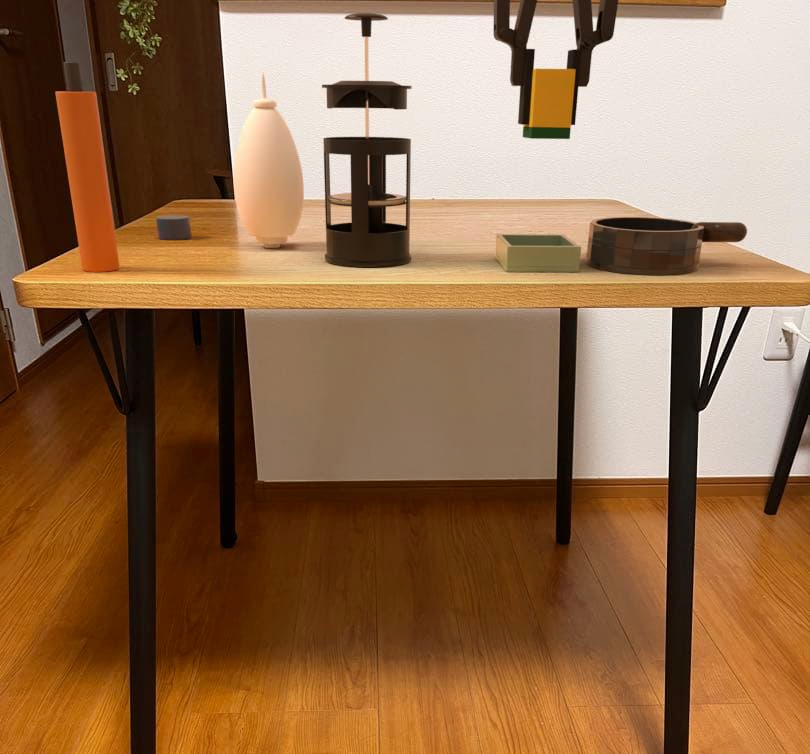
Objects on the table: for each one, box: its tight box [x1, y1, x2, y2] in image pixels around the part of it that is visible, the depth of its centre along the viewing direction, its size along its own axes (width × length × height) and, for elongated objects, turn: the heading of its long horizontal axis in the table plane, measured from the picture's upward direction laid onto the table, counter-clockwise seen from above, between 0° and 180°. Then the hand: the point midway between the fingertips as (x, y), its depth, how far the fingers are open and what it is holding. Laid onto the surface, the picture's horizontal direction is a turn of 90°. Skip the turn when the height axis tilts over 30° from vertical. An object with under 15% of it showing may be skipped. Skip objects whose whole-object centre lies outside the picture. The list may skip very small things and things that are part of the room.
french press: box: [321, 12, 413, 268], centre depth 90 cm, size 12×9×23 cm
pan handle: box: [691, 221, 748, 243], centre depth 93 cm, size 6×2×2 cm, turn 92°
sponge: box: [522, 68, 576, 140], centre depth 86 cm, size 6×4×6 cm
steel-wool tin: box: [155, 214, 192, 241], centre depth 108 cm, size 4×4×2 cm
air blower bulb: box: [233, 72, 305, 249], centre depth 98 cm, size 8×8×18 cm
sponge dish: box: [494, 233, 582, 273], centre depth 93 cm, size 8×8×2 cm
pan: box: [586, 216, 704, 276], centre depth 93 cm, size 12×12×4 cm
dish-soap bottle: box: [55, 61, 120, 273], centre depth 85 cm, size 4×4×18 cm
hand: (546, 123), depth 87 cm, fingers closed on sponge, 4 cm apart
